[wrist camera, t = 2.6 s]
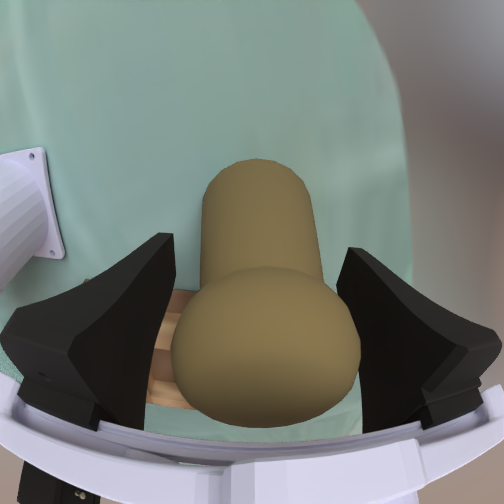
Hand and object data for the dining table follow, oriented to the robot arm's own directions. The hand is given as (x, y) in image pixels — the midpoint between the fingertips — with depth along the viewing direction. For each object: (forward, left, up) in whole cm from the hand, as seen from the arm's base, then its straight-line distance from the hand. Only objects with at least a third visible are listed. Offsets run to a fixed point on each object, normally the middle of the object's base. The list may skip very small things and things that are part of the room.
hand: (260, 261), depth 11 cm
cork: (0, 0, -5) cm, 5 cm away
